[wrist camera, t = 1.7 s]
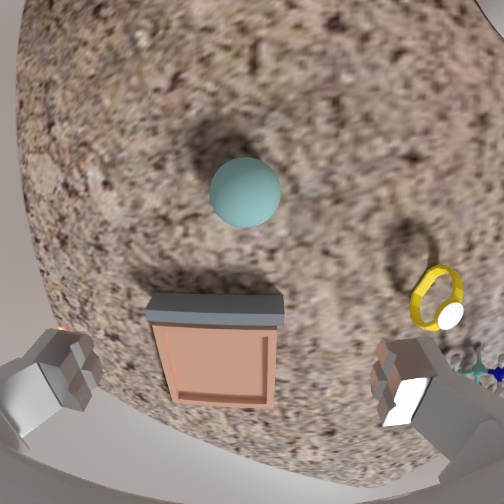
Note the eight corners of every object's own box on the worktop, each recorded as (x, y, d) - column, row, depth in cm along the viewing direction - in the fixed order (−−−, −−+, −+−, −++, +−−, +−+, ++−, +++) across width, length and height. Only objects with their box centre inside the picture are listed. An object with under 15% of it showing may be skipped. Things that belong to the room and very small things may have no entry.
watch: (429, 252, 26) (462, 278, 20) (447, 264, 26) (480, 290, 21) (397, 304, 28) (421, 338, 22) (415, 313, 28) (440, 347, 23)
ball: (214, 154, 23) (201, 163, 19) (279, 153, 23) (282, 161, 18) (217, 215, 25) (205, 238, 21) (279, 215, 25) (281, 238, 20)
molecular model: (412, 414, 30) (475, 440, 21) (433, 340, 31) (503, 355, 22) (454, 402, 35) (506, 419, 25) (471, 341, 35) (527, 351, 26)
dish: (155, 318, 30) (152, 325, 29) (276, 322, 29) (276, 330, 28) (175, 395, 35) (173, 402, 34) (273, 400, 34) (273, 408, 33)
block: (154, 292, 29) (144, 309, 26) (283, 294, 28) (284, 314, 25) (157, 302, 29) (147, 320, 26) (282, 305, 28) (284, 325, 26)
